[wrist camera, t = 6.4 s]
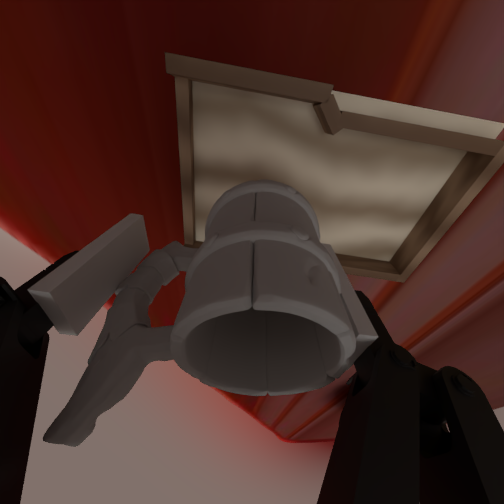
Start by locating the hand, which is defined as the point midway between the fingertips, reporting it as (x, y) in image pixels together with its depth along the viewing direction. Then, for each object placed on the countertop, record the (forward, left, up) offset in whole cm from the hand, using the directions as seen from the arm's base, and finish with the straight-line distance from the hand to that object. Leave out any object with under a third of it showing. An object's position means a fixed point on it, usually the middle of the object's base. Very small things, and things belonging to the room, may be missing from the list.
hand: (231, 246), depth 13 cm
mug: (0, 0, -2) cm, 2 cm away
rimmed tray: (0, +9, -14) cm, 16 cm away
